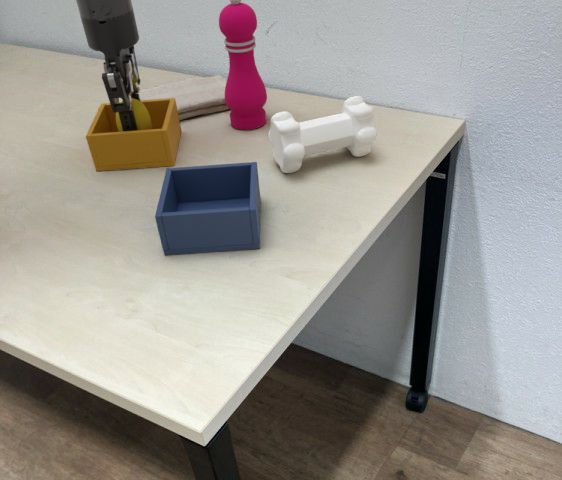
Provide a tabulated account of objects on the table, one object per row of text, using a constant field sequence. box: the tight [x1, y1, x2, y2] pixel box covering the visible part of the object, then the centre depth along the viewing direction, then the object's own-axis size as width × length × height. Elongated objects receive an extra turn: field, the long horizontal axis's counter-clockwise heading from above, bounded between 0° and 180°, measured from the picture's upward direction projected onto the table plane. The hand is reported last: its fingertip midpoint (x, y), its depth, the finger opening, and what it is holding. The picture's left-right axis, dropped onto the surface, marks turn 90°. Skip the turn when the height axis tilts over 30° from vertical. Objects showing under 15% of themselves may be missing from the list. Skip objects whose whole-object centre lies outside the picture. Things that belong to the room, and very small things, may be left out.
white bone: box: [268, 95, 378, 174], centre depth 92 cm, size 15×9×8 cm, turn 110°
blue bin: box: [154, 161, 262, 256], centre depth 82 cm, size 13×13×6 cm
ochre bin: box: [85, 98, 182, 172], centre depth 100 cm, size 13×13×6 cm
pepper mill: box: [218, 0, 268, 131], centre depth 100 cm, size 7×7×20 cm
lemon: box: [116, 98, 152, 132], centre depth 98 cm, size 6×6×8 cm
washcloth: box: [137, 74, 230, 121], centre depth 112 cm, size 12×18×3 cm, turn 113°
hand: (134, 125), depth 99 cm, fingers closed on lemon, 5 cm apart
